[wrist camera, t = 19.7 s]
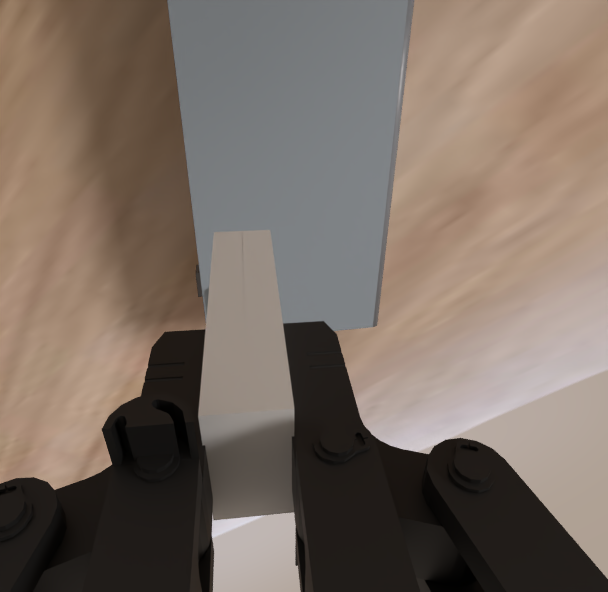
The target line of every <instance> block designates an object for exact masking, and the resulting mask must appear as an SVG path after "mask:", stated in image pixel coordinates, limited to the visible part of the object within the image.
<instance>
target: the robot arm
mask: <svg viewBox="0 0 608 592" xmlns="http://www.w3.org/2000/svg"><path fill="white" fill-rule="evenodd" d="M102 432H103V435H104V438H105V441H106V445H107V448H108V451H109V454H110V458H111V461H112V465H111V466H109V467H108V468H106V469H105V470H103V471H102V472H100V473H98V474H96V475H94V476H92V477H89V478H87V479H85V480H82V481H79V482H76V483H73V484H70V485H68V486H65V487H62V488H59V489H56V490H54V489H53V488H52V487H51V486H50V484H49V483H48V482H46V481H43V480H40V479H37V478H34V477H33V478H16V479H13V480H10V481H7V482H4V483H1V484H0V592H213V567H214V548H213V542H212V535H211V534H212V512H213V519H214V520H220V519H230V518H240V517H250V516H261V515H271V514H280V513H291V512H294V513H295V523H296V566H297V565H298V569H299V579H300V590H301V592H608V579H607V578H606V577H605V575H603V573H602V572H601V571H600V570H599V568H598V567H597V566H596V565H595V564H594V563H593V561H592V560H591V559H590V558H589V557H588V556H587V554H586V553H585V552H584V551H583V550H582V549H581V548H580V546H579V545H578V544H577V543H576V542H575V541H574V540H573V538H572V537H571V536H570V535H569V534H568V532H567V531H566V530H565V529H564V528H563V527H562V525H561V524H560V523H559V522H558V521H557V520H556V519H555V517H554V516H553V515H552V514H551V513H550V512H549V510H548V509H547V508H546V507H545V506H544V504H543V503H542V502H541V501H540V500H539V499H538V497H537V496H536V495H535V494H534V493H533V492H532V490H531V489H530V488H529V487H528V486H527V485H526V483H525V482H524V481H523V480H522V479H521V478H520V477H519V475H518V474H517V473H516V472H515V471H514V470H513V468H512V467H511V466H510V465H509V464H508V463H507V462H506V460H505V459H504V458H502V457H501V456H500V455H499V454H498V453H497V452H496V451H494V450H493V449H492V448H490V447H488V446H486V445H483V444H481V443H479V442H477V441H473V440H468V439H463V438H457V439H449V440H445V441H443V442H441V443H439V444H438V445H436V446H434V448H433V449H432V451H431V453H430V454H424V453H419V452H414V451H409V450H403V449H400V448H396V447H393V446H390V445H388V444H386V443H384V442H382V441H380V440H378V439H377V438H376V437H374V436H373V435H372V434H371V433H370V431H369V430H368V429H366V427H365V426H364V425H363V422H362V420H361V418H360V415H359V412H358V408H357V404H356V401H355V397H354V394H353V390H352V387H351V383H350V380H349V376H348V373H347V369H346V367H345V362H344V358H343V355H342V353H341V348H340V344H339V341H338V337H337V334H336V333H335V332H334V331H333V330H332V329H331V328H330V327H329V326H328V325H327V324H326V323H325V322H324V321H315V322H298V323H283V321H282V313H281V306H280V299H279V291H278V284H277V276H276V269H275V262H274V254H273V247H272V239H271V232H270V230H255V231H229V232H214V236H213V248H212V260H211V272H210V283H209V295H208V307H207V318H206V329H205V330H189V331H172V332H164V334H163V335H162V336H161V337H160V338H159V340H158V341H157V342H156V343H155V344H154V346H153V347H152V349H151V354H150V358H149V363H148V368H147V371H146V376H145V383H144V385H143V389H142V394H141V397H137V398H135V399H133V400H131V401H129V402H127V403H125V404H123V405H121V406H120V407H119V408H118V409H116V410H115V411H114V412H113V413H112V414H111V415H110V416H109V417H108V419H107V421H106V422H105V424H104V426H103V428H102Z"/></svg>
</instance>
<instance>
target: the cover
mask: <svg viewBox="0 0 608 592" xmlns="http://www.w3.org/2000/svg"><path fill="white" fill-rule="evenodd" d="M167 2H168V10H169V19H170V27H171V35H172V44H173V52H174V60H175V69H176V77H177V85H178V94H179V102H180V111H181V119H182V127H183V136H184V144H185V152H186V161H187V169H188V177H189V186H190V194H191V203H192V211H193V219H194V228H195V236H196V244H197V253H198V261H199V269H200V278H201V286H202V295H203V303H204V311H205V320H206V318H207V307H208V295H209V283H210V272H211V260H212V248H213V236H214V232H229V231H255V230H270V232H271V239H272V247H273V254H274V262H275V269H276V276H277V284H278V291H279V299H280V306H281V313H282V321H283V323H298V322H315V321H324V322H325V323H326V324H327V325H328V326H329V327H330V328H331V329H332V330H333V331H338V330H348V329H358V328H368V327H375V326H377V322H378V313H379V305H380V296H381V287H382V278H383V270H384V261H385V252H386V243H387V234H388V226H389V217H390V208H391V199H392V191H393V182H394V173H395V164H396V156H397V147H398V138H399V129H400V121H401V112H402V103H403V94H404V86H405V77H406V68H407V59H408V50H409V42H410V33H411V24H412V15H413V7H414V0H167Z"/></svg>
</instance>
